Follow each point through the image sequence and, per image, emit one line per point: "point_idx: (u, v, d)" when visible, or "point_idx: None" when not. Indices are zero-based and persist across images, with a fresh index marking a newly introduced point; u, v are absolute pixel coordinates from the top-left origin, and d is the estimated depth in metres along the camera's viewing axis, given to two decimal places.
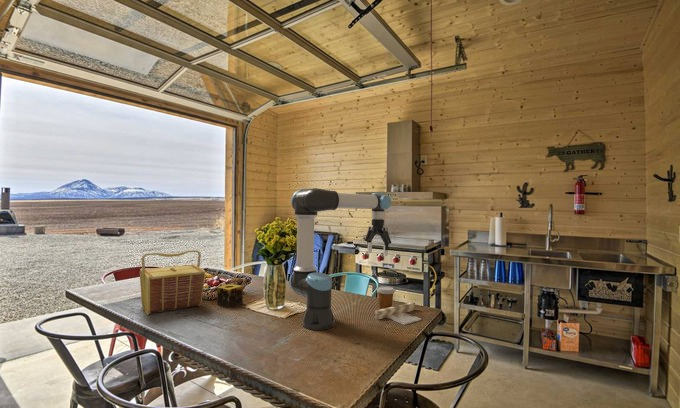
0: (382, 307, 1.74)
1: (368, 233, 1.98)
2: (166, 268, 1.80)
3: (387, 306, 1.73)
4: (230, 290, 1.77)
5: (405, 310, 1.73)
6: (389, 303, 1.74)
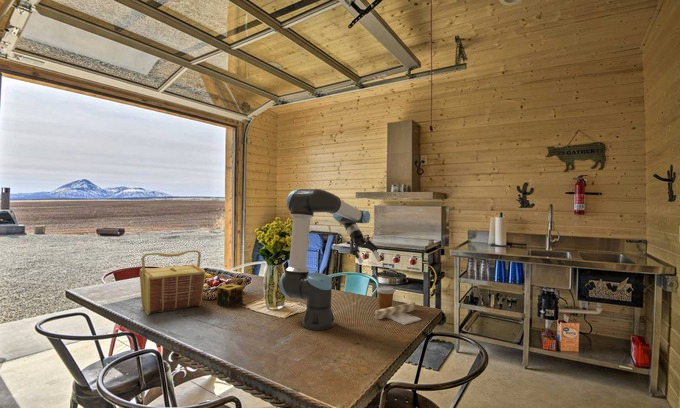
0: (382, 307, 1.74)
1: (353, 244, 1.90)
2: (166, 268, 1.81)
3: (387, 306, 1.73)
4: (230, 290, 1.77)
5: (405, 310, 1.73)
6: (389, 303, 1.74)
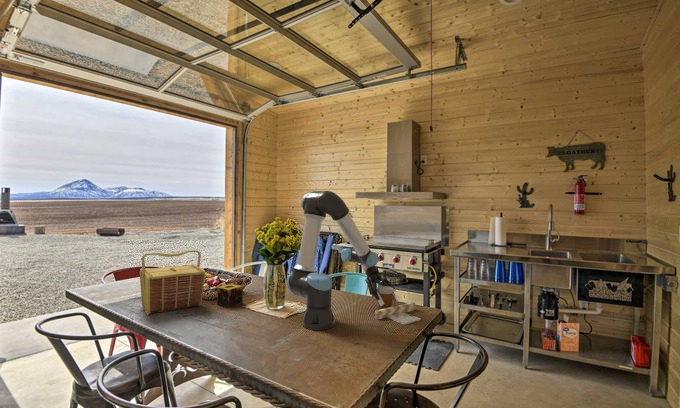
0: (382, 307, 1.74)
1: (371, 283, 1.77)
2: (166, 268, 1.81)
3: (387, 306, 1.73)
4: (230, 290, 1.77)
5: (405, 310, 1.73)
6: (389, 303, 1.74)
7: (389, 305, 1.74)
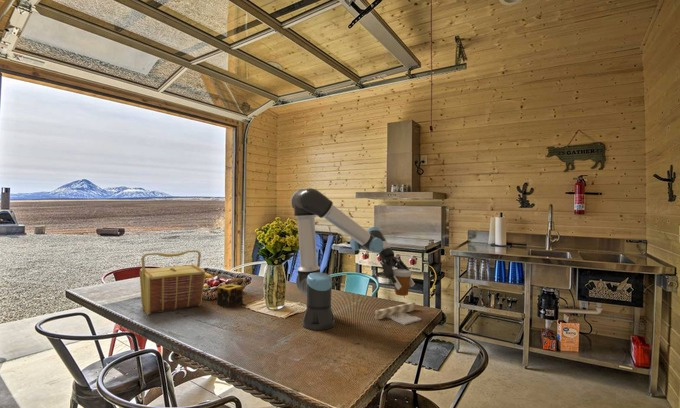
0: (399, 291, 1.63)
1: (387, 266, 1.66)
2: (166, 268, 1.81)
3: (404, 290, 1.63)
4: (230, 290, 1.77)
5: (405, 310, 1.73)
6: (406, 286, 1.63)
7: (406, 289, 1.63)
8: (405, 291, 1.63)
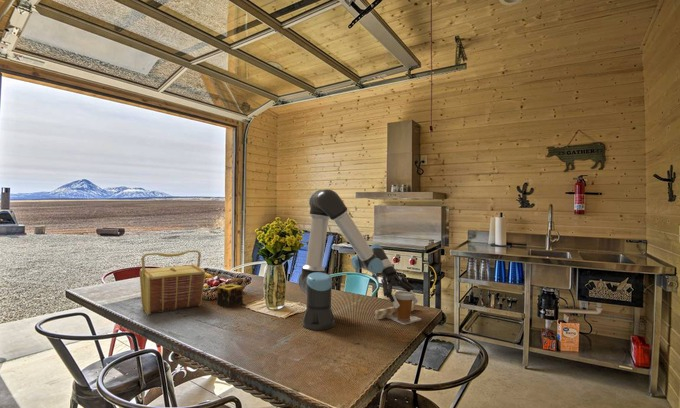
0: (400, 314, 1.61)
1: (386, 284, 1.64)
2: (166, 268, 1.81)
3: (406, 313, 1.60)
4: (230, 290, 1.77)
5: None
6: (408, 310, 1.60)
7: (408, 312, 1.60)
8: (407, 314, 1.60)
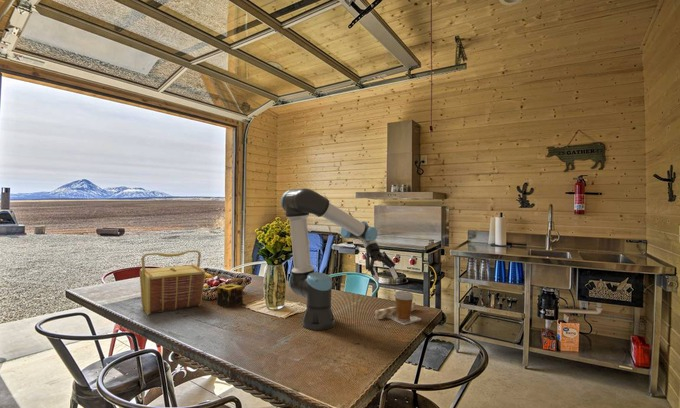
0: (400, 314, 1.61)
1: (369, 259, 1.74)
2: (166, 268, 1.81)
3: (406, 313, 1.60)
4: (230, 290, 1.77)
5: None
6: (408, 310, 1.60)
7: (408, 312, 1.60)
8: (407, 314, 1.60)
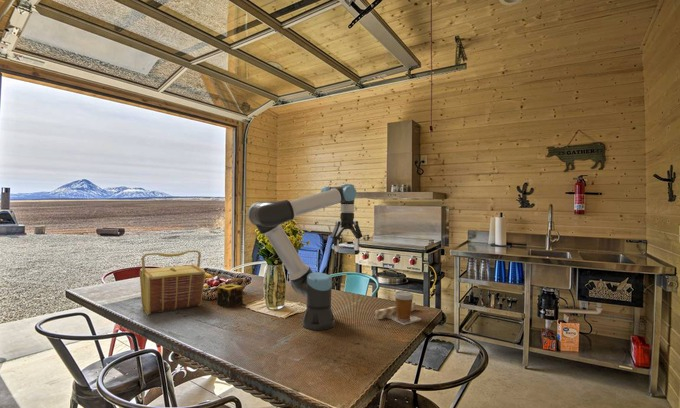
0: (400, 314, 1.61)
1: None
2: (166, 268, 1.81)
3: (406, 313, 1.60)
4: (230, 290, 1.77)
5: None
6: (408, 310, 1.60)
7: (408, 312, 1.60)
8: (407, 314, 1.60)
